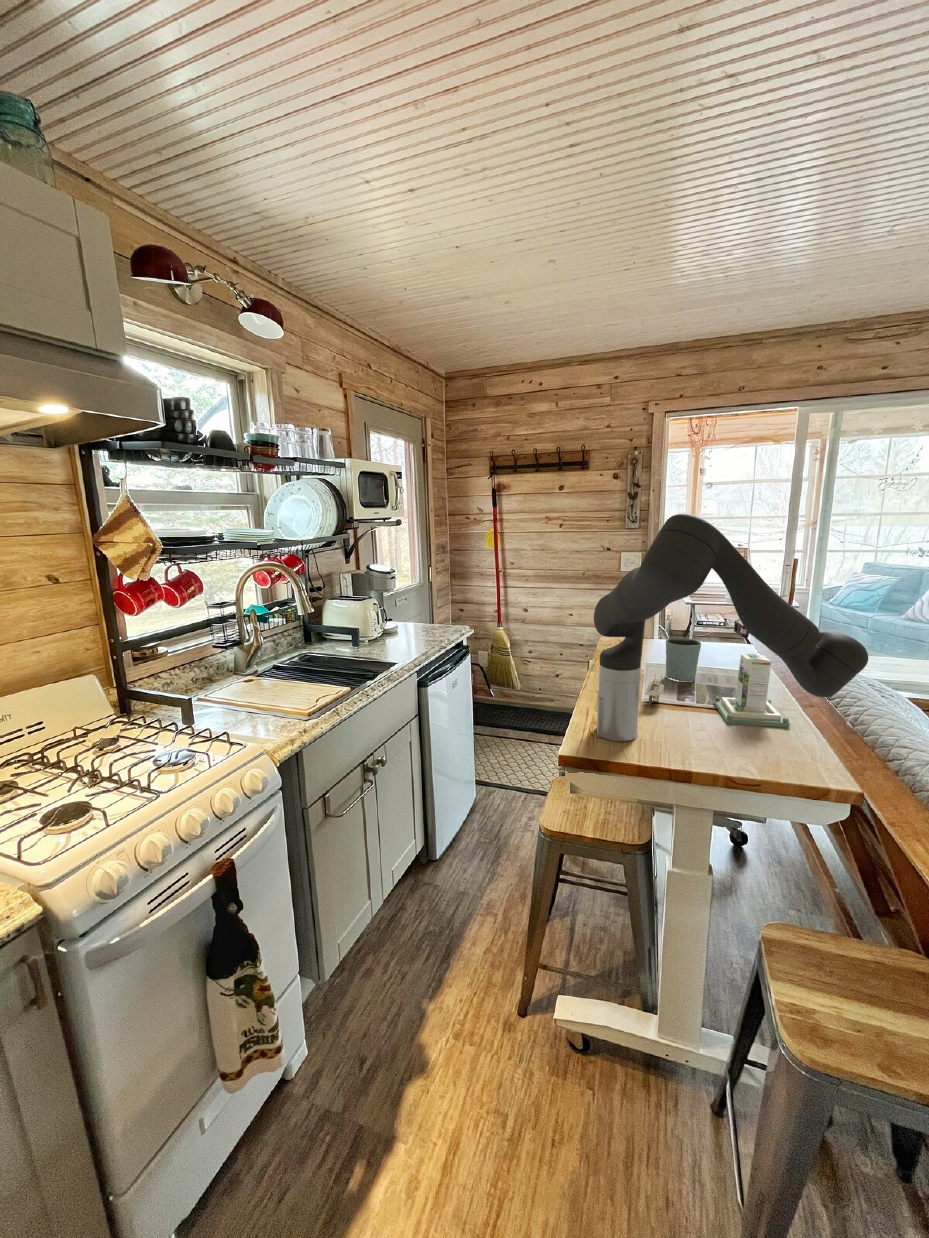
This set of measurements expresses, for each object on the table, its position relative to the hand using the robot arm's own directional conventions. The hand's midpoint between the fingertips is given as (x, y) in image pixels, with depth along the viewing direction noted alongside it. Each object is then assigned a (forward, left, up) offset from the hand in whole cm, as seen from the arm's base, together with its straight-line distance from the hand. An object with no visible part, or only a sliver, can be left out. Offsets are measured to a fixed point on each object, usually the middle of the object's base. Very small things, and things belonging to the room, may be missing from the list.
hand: (763, 621), depth 115 cm
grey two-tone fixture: (-19, +20, -29) cm, 40 cm away
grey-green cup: (-8, +44, -28) cm, 53 cm away
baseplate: (+4, +16, -28) cm, 33 cm away
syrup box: (+4, +16, -27) cm, 32 cm away
